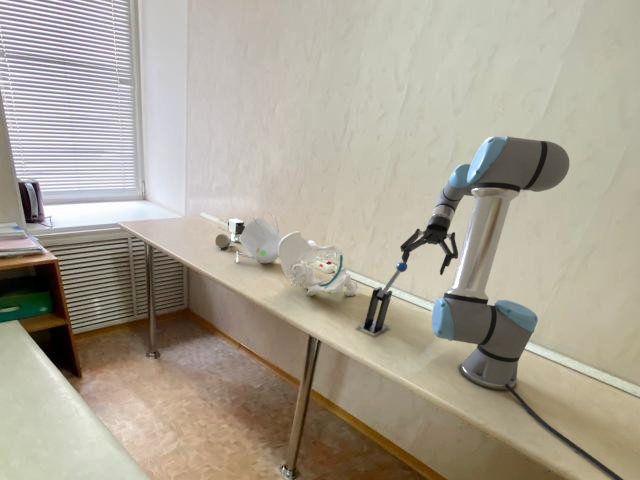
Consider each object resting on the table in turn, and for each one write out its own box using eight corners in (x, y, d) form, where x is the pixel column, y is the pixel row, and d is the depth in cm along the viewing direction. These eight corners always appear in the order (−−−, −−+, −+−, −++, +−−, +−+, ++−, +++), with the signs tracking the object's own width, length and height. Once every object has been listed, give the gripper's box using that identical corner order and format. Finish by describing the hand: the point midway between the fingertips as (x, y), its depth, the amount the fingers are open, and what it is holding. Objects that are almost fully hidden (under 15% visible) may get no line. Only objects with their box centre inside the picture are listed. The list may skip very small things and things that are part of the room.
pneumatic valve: (236, 244, 223) (237, 221, 217) (226, 238, 231) (227, 215, 225) (245, 243, 226) (247, 221, 219) (235, 237, 234) (236, 215, 227)
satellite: (270, 236, 179) (305, 233, 196) (243, 208, 185) (279, 208, 202) (249, 277, 194) (283, 271, 211) (224, 250, 200) (259, 246, 217)
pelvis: (384, 263, 168) (350, 286, 149) (352, 301, 185) (318, 326, 166) (322, 207, 174) (282, 223, 155) (297, 250, 191) (258, 268, 172)
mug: (234, 245, 222) (235, 231, 213) (224, 256, 217) (224, 243, 209) (222, 239, 223) (223, 225, 214) (212, 250, 219) (212, 236, 210)
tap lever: (400, 264, 147) (399, 258, 144) (409, 267, 145) (409, 261, 142) (375, 299, 144) (374, 293, 141) (384, 303, 142) (383, 297, 139)
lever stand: (371, 321, 154) (381, 284, 146) (388, 328, 150) (399, 290, 143) (356, 329, 148) (366, 290, 140) (374, 336, 144) (385, 297, 136)
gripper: (476, 231, 151) (457, 281, 147) (407, 225, 163) (388, 270, 159) (477, 218, 145) (458, 269, 141) (405, 212, 157) (386, 259, 153)
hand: (421, 270), depth 150 cm, fingers open, 13 cm apart
